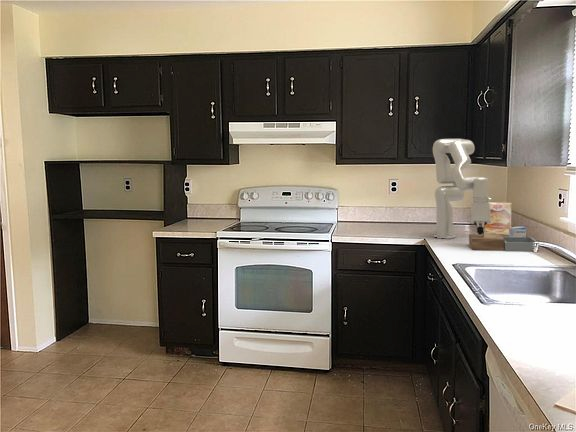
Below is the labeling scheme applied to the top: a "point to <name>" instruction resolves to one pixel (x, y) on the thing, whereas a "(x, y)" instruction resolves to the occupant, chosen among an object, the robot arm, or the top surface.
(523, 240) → the bin
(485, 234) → the birch tile
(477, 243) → the walnut riser
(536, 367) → the top surface
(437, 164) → the robot arm
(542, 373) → the top surface
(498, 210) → the coffeecake box
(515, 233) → the medicine box
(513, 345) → the top surface
